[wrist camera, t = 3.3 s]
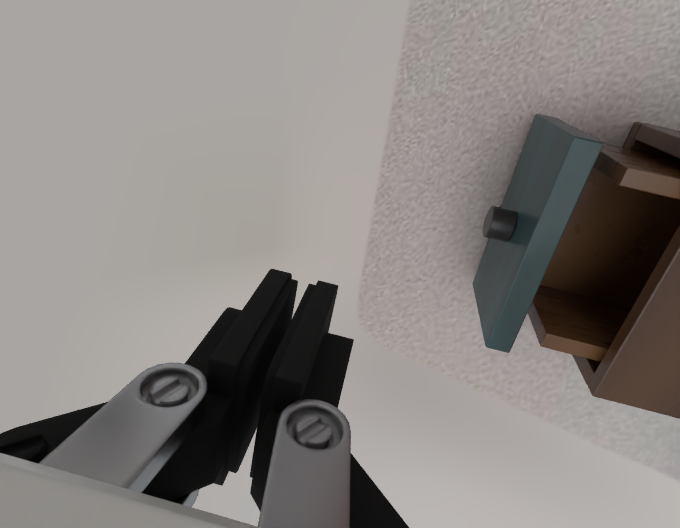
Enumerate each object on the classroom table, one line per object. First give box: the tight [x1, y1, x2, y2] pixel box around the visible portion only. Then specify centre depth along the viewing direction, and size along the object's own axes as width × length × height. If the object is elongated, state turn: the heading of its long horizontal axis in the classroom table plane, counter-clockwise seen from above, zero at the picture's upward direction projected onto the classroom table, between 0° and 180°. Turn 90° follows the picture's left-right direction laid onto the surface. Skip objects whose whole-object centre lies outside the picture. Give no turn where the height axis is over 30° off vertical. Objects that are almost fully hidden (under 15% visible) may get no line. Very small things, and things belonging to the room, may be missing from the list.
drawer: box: [473, 114, 680, 362], centre depth 23 cm, size 14×10×7 cm
